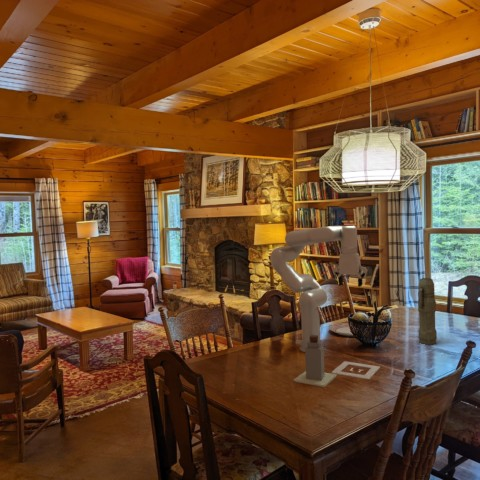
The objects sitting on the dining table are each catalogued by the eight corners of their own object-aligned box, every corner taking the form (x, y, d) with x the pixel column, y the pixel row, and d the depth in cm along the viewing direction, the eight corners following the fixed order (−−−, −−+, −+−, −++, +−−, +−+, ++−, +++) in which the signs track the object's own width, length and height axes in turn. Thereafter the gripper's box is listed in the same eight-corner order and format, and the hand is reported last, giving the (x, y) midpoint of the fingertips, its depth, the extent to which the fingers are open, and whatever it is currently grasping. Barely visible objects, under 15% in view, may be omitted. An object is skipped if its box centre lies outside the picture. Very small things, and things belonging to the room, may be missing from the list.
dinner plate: (327, 327, 277) (327, 322, 277) (371, 326, 275) (371, 321, 274) (332, 339, 250) (332, 333, 250) (381, 338, 247) (380, 333, 247)
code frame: (331, 373, 196) (331, 372, 196) (344, 362, 210) (344, 361, 210) (368, 379, 186) (368, 378, 186) (380, 367, 200) (380, 366, 200)
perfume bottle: (321, 380, 185) (320, 338, 185) (306, 379, 188) (304, 337, 187) (324, 374, 192) (323, 334, 191) (309, 373, 194) (307, 333, 193)
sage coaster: (293, 381, 188) (293, 379, 188) (307, 371, 199) (307, 369, 199) (324, 387, 180) (324, 385, 180) (336, 376, 192) (336, 374, 192)
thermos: (441, 342, 236) (439, 277, 234) (430, 346, 228) (429, 280, 226) (425, 339, 242) (423, 276, 241) (414, 343, 235) (412, 279, 233)
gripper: (329, 251, 215) (330, 285, 216) (364, 252, 205) (365, 288, 206) (335, 250, 221) (336, 283, 222) (369, 250, 211) (370, 285, 212)
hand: (350, 285), depth 214 cm, fingers open, 9 cm apart
